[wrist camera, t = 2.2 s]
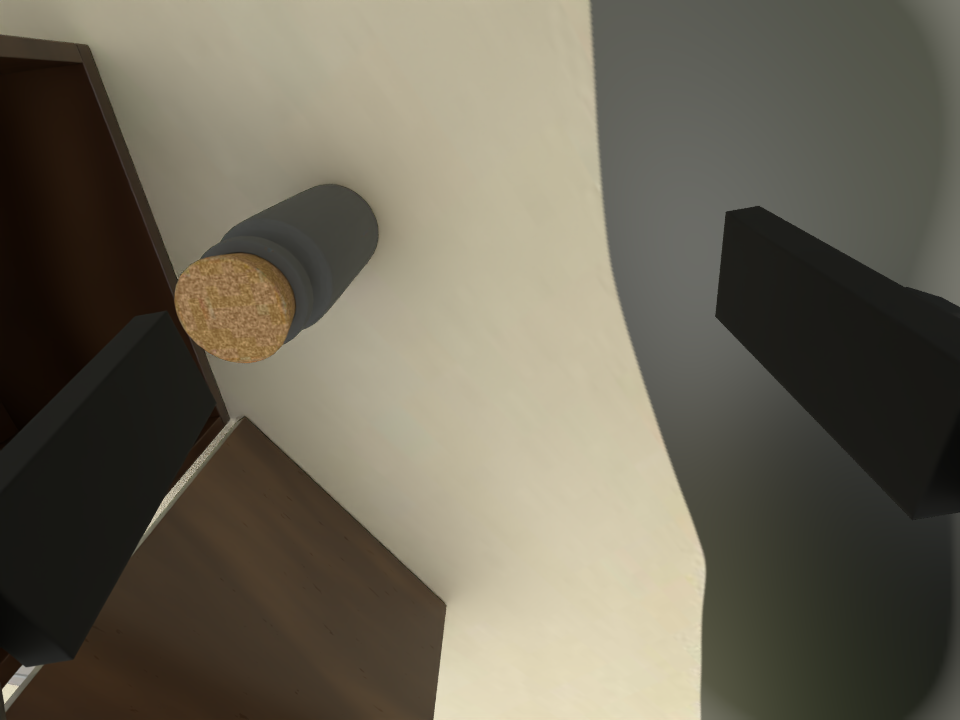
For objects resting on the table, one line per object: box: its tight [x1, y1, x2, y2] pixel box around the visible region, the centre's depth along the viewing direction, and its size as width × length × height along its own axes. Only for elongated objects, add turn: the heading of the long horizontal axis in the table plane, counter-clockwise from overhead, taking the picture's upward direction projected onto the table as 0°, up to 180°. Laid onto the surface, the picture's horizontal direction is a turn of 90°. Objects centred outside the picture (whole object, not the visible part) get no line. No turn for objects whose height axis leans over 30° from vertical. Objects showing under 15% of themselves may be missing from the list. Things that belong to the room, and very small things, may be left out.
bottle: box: [174, 184, 378, 363], centre depth 28 cm, size 6×6×15 cm
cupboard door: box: [4, 417, 446, 720], centre depth 36 cm, size 7×26×26 cm, turn 36°
